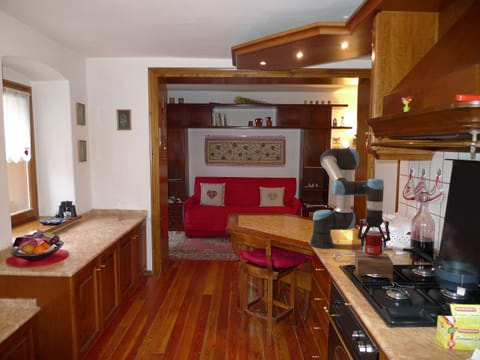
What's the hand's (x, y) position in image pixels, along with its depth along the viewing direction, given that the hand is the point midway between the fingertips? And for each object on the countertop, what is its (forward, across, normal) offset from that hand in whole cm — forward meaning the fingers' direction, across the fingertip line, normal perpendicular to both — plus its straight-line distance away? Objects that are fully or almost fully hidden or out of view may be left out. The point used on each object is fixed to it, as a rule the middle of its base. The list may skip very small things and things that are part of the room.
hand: (373, 253), depth 163 cm
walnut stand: (+10, 0, 0) cm, 10 cm away
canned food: (0, 0, 0) cm, 0 cm away
